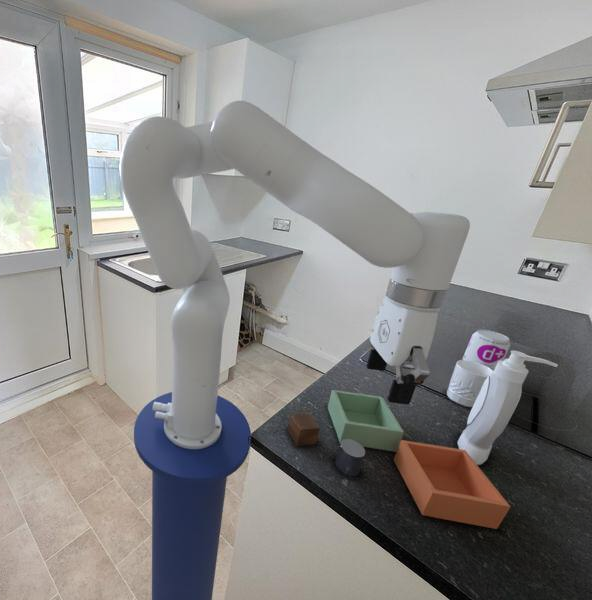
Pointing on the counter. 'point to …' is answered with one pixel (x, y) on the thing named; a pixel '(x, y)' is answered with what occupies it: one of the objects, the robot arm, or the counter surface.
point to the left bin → (364, 420)
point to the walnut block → (303, 429)
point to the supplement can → (487, 348)
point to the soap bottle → (495, 405)
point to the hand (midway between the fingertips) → (385, 384)
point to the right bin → (449, 485)
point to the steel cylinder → (350, 457)
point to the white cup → (467, 382)
